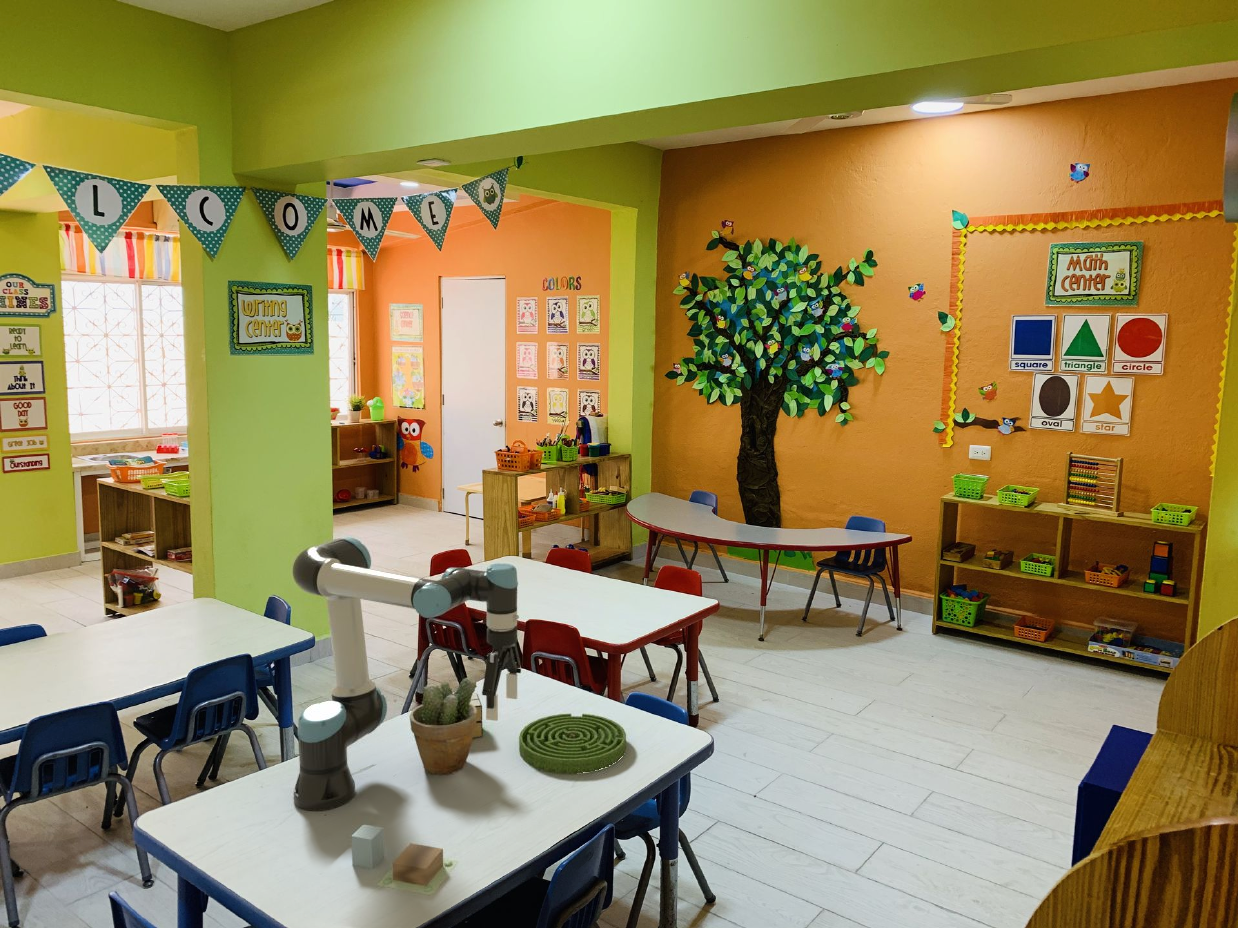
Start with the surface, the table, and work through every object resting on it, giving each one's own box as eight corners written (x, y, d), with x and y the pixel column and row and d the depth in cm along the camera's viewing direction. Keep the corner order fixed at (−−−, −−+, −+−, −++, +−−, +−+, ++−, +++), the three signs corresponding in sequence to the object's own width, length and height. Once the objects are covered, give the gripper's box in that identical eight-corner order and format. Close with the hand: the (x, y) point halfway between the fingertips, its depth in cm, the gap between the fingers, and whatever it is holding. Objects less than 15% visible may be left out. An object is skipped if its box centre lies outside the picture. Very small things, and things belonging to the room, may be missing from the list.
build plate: (376, 888, 193) (376, 883, 193) (406, 855, 205) (406, 850, 205) (431, 899, 189) (431, 893, 189) (458, 864, 202) (458, 859, 202)
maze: (626, 727, 275) (626, 712, 274) (625, 776, 244) (625, 758, 243) (526, 725, 275) (526, 710, 275) (512, 774, 245) (512, 756, 244)
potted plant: (427, 788, 236) (425, 698, 233) (399, 761, 251) (397, 676, 247) (489, 769, 247) (488, 682, 243) (459, 744, 262) (458, 662, 258)
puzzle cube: (444, 727, 273) (444, 696, 272) (477, 723, 276) (477, 692, 275) (448, 741, 264) (448, 709, 262) (482, 737, 267) (482, 705, 265)
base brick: (393, 879, 194) (392, 862, 194) (410, 859, 202) (410, 842, 201) (426, 885, 192) (426, 868, 192) (443, 865, 200) (442, 848, 199)
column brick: (352, 869, 200) (351, 835, 199) (364, 856, 205) (363, 824, 204) (372, 872, 199) (371, 839, 197) (384, 860, 203) (383, 827, 202)
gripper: (497, 644, 208) (497, 731, 211) (533, 613, 232) (532, 691, 235) (467, 641, 210) (468, 727, 213) (506, 610, 234) (506, 688, 237)
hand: (502, 708), depth 224 cm, fingers open, 13 cm apart
